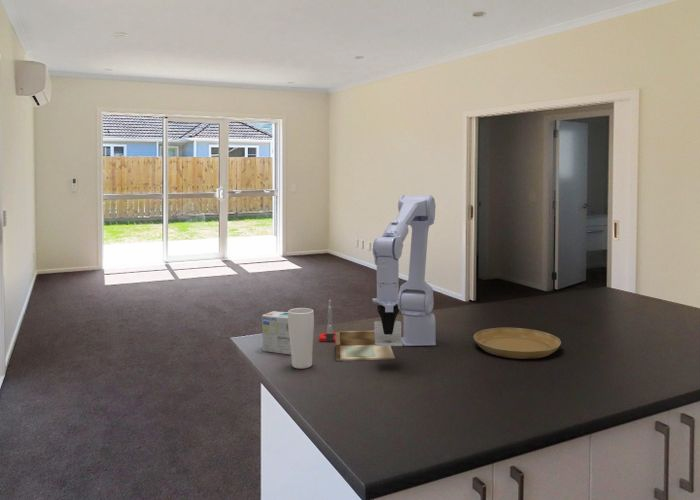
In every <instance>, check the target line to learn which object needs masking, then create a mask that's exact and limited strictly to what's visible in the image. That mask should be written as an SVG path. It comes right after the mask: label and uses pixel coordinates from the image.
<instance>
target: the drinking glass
mask: <svg viewBox="0 0 700 500" xmlns="http://www.w3.org/2000/svg"><path fill="white" fill-rule="evenodd" d="M287 312H288V329H289V338H290V347H291V365H292V367H293V368H295V369H299V370H301V369H302V370H303V369H308V368H310V367H312V365H313V347H314V346H313V345H314V332H315V314H314V309H312V308H309V307H308V308H307V307H298V308H297V307H296V308H291V309H289V310H288V311H287Z"/></svg>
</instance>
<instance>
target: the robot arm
mask: <svg viewBox="0 0 700 500" xmlns="http://www.w3.org/2000/svg"><path fill="white" fill-rule="evenodd" d="M397 209H398V214H397V216H396V218H395V219H393V220H391V221H390V222H389V223H388V225H387V227H386V228H385V230H384V231H383V233H382V235H381V236H378V237H377V238H375V239H374V240H373V244H372V255H373V258H374V265H375V266H376V298H372V303H377V304H378V305H376V308H377V312H378V314H379V317H380V321H382V325H383V331H384V334H385V335H389V334H392V333H393V329H394V323H395V321H396V319H397V316H398V314H399V312H401V315H402V317H403V318H402V319H403V320H402V321H403V322H402V323H403V332H402V333H403V337H402V336H401V339H402V342H403V346H404V347H415V346H416V347H418V346H422V347H423V346H437V343H436V316H435V313H434V312H432V311H433V309H434V305H435V303H434V302H435V301H434V289H433V287H432V286H431V285H430V284H429V283H428V282H426V281H425V280H426V279H425V278H426V277H425V276H426V265H427V249H428V237H429V229H430V226H432V225H434V223H435V220H436V218H435V217H436V202H435V198H434V197H433V195H431V194H428V195H405V194H404V195H403V194H402V195H401V196H400V197H399V199H398V203H397ZM409 226H410V228H411V239H410V251H409V265H408V276H407V277H408V279H407V281H406V282H404V283H402V284H401V285H399V281H400V280H399V275H400V274H399V272H400V271H399V270H400V269H399V263H400V262H399V261H400V260H399V259H400V258H401V257H402V253H403V249H404V241H405V239H407V238H406V237H407V236H408V234H409Z"/></svg>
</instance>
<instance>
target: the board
mask: <svg viewBox="0 0 700 500" xmlns="http://www.w3.org/2000/svg"><path fill="white" fill-rule="evenodd" d="M395 359H396V358H395V354H394V352H393V349H392V346H375V345H343V346H340V359H336V358H335V362H336V361H337V362H340V361H341V362H342V361H344V362H345V361H380V360H381V361H384V360H385V361H386V360H387V361H388V360H395Z"/></svg>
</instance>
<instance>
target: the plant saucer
mask: <svg viewBox="0 0 700 500" xmlns="http://www.w3.org/2000/svg"><path fill="white" fill-rule="evenodd" d="M473 339H474V341H475V343H476V344H477V346H478V347H480V349H482V350H483V351H484V352H486V353H488V354H491V355H494V356H497V357H503V358H506V359H507V358H508V359H515V360H516V359H519V360H520V359H521V360H523V359H524V360H527V359H528V360H530V359H531V360H532V359H541V358H546V357H548V356H550V355H551V354H553V353H555V352H556V351H557V350H558V349H559V348H560V347H561V344H562V341H561V339H560V338H559V337H558V336H555V335H553V334H551V333H549V332H545V331H541V330H537V329H531V328H521V327H495V328H494V327H493V328H486V329H482V330H479V331H477V332H475V333H474V335H473Z"/></svg>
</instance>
